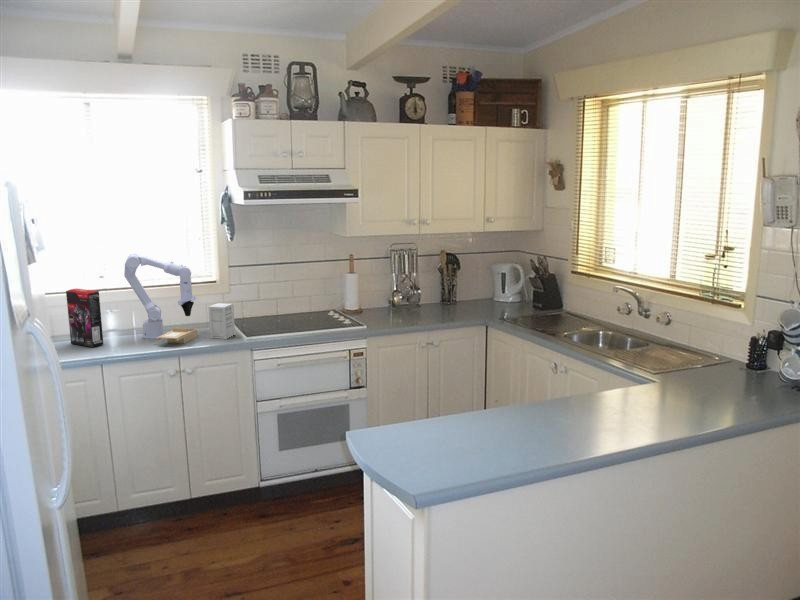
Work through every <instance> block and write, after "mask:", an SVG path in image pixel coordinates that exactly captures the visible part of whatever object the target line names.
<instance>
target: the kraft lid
mask: <svg viewBox="0 0 800 600" xmlns="http://www.w3.org/2000/svg"><path fill="white" fill-rule="evenodd" d="M188 329H189V328H188V327H172V328H171V330H170V331H168V332H166V333H164V334H163V335H161V336H159V337H157V338H156V339H157V341H159V340H160V341H161V340H162V339H164V340H165V339H176V341H178V340H180V339H182V338H184V337H186V336H189V335H191V331H188Z"/></svg>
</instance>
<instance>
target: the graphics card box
mask: <svg viewBox="0 0 800 600" xmlns="http://www.w3.org/2000/svg"><path fill="white" fill-rule="evenodd" d="M65 293H66V294H65V295H66V304H67V305H66V306H67V314H68V315H67V316H68V326H69V336H70V344H71V345H77V346H85V347H91V348H94V347H100V346H103V345H104V335H103V325H102V313H101V312H102V311H101V302H100V301H101V300H100V291H99V290H91V289H86V288H85V289H83V288H72V289H71V288H70V289H68V290H66V291H65Z"/></svg>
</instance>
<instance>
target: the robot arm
mask: <svg viewBox="0 0 800 600" xmlns="http://www.w3.org/2000/svg"><path fill="white" fill-rule="evenodd" d="M139 266H141V267H143V266H150V267H154V268H157V269H158V268H159V269H162V270H163V271H164V273H165V274H170V275H172V276H176V277H179V279H180V281H179V290H180V291H179V292H180V293H179V294H180V299H179V300H177V305H178V306H180V307H181V308H182V310H183V312H184V315H185V317H190V316H191V315H192V310H193V309H192V308H193V306H194V304H195V302H194V301H196V296H195V295H193V287H192V281H191V280H192V277H191V276H192V272H191V269H190V268H189V267H187V266H184V265H183V264H177V263H174V261H172V260H171V261H167V262H162V261H160V260H157V259H154V258H151V257H148V256H145V255H141V254H139V255H138V254H136V253H131V254H129V255H128V256H127V259H126V261H125V262H124V278H125V280H126V281H127V282H128V284H129V285H130V287H131V289H132V290H133V292H134V294H135V295H136V296H137V298H138V299H139V301H140V302H141V304H142V306H143V307H144V309H145V312H146V313H147V317H148V318H147V319H145V320H144V321H143V323H142V334H143V336H142V339H157V337H159V336H161V335H163V334H165V333H164V332H165V331H164V321H163V320H164V319H163V317H162V309H161V308H160V307H159V306H158V305H157V304H156V303H155V302H154V301H153V300H152V298H151V297H150V295H149V294H148V292H147V291H146V289H145V288H144V286H143V285H142V283H141V282H140V280H139V279H138V277H137V275H136V273H137V269H138V267H139Z"/></svg>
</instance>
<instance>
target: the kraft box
mask: <svg viewBox="0 0 800 600" xmlns="http://www.w3.org/2000/svg"><path fill="white" fill-rule="evenodd" d="M188 331H191V335H189V336H186V337H184V338H182V339H180V340H178V341H176V339H167V343H186V342H188V341H190V340H192V339H194V338H196V337H198V335H199V334H198V328H188Z"/></svg>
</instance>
